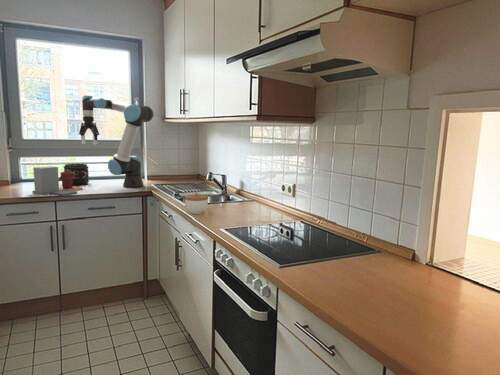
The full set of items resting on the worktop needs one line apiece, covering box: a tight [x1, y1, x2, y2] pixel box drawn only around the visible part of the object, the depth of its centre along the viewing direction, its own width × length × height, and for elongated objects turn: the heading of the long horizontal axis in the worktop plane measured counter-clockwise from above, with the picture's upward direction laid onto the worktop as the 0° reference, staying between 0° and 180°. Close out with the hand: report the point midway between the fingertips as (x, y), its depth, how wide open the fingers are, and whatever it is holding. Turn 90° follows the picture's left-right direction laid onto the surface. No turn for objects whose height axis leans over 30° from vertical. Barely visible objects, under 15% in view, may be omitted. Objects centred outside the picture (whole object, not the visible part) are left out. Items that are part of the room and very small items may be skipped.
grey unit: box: [31, 165, 61, 196], centre depth 249 cm, size 14×12×18 cm
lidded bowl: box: [184, 192, 209, 215], centre depth 201 cm, size 13×13×11 cm
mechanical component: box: [58, 170, 75, 189], centre depth 262 cm, size 12×10×10 cm
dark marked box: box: [63, 163, 90, 187], centre depth 289 cm, size 18×18×16 cm
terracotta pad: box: [59, 186, 84, 192], centre depth 263 cm, size 14×14×2 cm
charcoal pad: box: [51, 190, 78, 197], centre depth 247 cm, size 11×11×2 cm
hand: (89, 144), depth 283 cm, fingers open, 13 cm apart
